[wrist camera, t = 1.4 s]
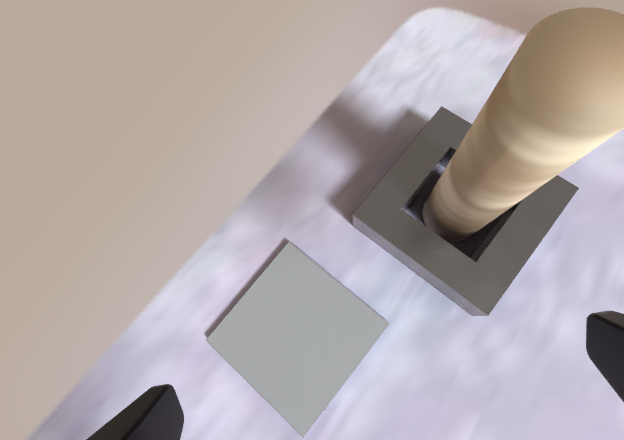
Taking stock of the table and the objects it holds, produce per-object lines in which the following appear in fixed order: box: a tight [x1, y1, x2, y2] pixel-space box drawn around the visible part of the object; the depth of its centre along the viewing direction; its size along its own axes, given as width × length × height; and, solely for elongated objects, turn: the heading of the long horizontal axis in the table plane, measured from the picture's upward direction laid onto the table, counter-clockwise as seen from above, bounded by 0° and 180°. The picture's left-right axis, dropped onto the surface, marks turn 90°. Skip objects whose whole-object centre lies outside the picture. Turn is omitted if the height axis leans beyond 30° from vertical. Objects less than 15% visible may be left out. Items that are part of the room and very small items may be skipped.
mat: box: [206, 242, 389, 437], centre depth 21 cm, size 8×8×1 cm
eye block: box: [353, 106, 579, 316], centre depth 21 cm, size 9×9×2 cm
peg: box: [422, 8, 624, 241], centre depth 16 cm, size 4×4×14 cm
